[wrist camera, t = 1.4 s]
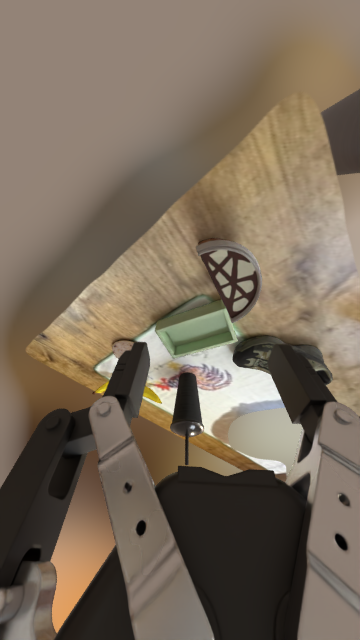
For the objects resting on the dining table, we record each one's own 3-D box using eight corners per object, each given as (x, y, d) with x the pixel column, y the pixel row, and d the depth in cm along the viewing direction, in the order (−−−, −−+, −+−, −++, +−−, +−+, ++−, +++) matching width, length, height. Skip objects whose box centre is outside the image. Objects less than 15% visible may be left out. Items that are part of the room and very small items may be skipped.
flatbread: (114, 335, 42) (113, 338, 41) (145, 343, 43) (144, 346, 42) (111, 356, 46) (110, 359, 46) (139, 363, 48) (138, 366, 47)
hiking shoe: (236, 332, 40) (246, 365, 32) (329, 340, 40) (361, 374, 32) (227, 357, 45) (234, 390, 37) (309, 364, 45) (333, 398, 37)
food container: (254, 280, 32) (276, 309, 24) (222, 294, 34) (232, 325, 26) (231, 211, 26) (249, 220, 18) (194, 233, 28) (196, 251, 20)
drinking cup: (182, 365, 47) (179, 455, 31) (206, 375, 49) (214, 463, 33) (169, 380, 52) (161, 465, 35) (191, 388, 54) (193, 472, 37)
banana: (162, 390, 55) (159, 410, 50) (101, 376, 52) (91, 396, 47) (165, 385, 53) (162, 406, 48) (102, 370, 50) (92, 390, 45)
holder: (223, 298, 35) (226, 307, 32) (234, 331, 39) (237, 341, 37) (157, 320, 39) (154, 331, 36) (174, 348, 44) (173, 358, 41)
